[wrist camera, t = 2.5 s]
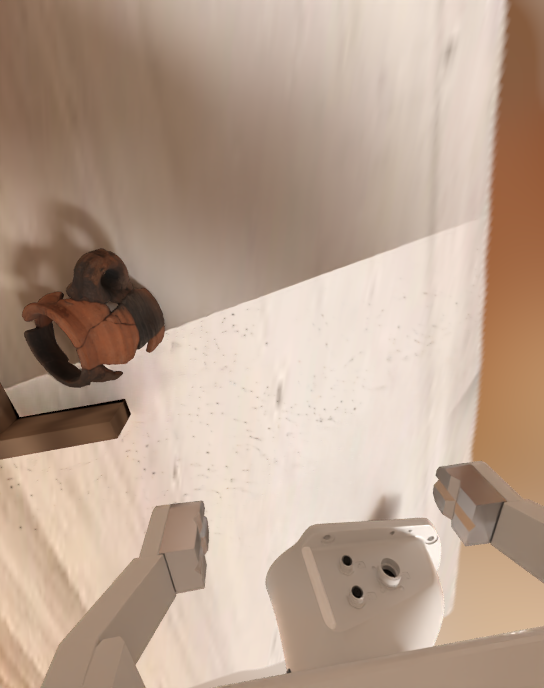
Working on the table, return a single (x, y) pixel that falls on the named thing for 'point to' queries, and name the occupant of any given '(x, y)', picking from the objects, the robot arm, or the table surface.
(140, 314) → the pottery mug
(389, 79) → the table surface
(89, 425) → the dock
